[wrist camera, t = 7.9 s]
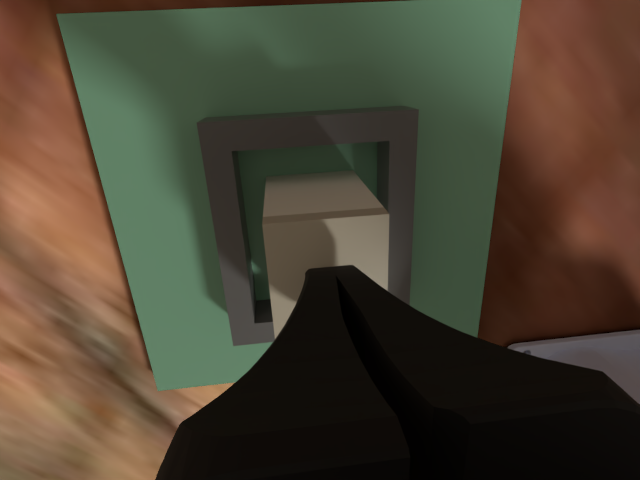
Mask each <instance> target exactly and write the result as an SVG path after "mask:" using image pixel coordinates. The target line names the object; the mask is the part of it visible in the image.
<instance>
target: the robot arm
mask: <svg viewBox="0 0 640 480" xmlns="http://www.w3.org/2000/svg"><path fill="white" fill-rule="evenodd" d="M524 351H525V352H524ZM523 352H524V353H523ZM155 480H640V330H631V331H622V332H613V333H604V334H595V335H586V336H577V337H568V338H559V339H550V340H541V341H533V342H524V343H515V344H511V345H510V346H508V347H507V348H505V347H502V346H499V345H496V344H493V343H490V342H487V341H485V340H482V339H479V338H477V337H474V336H472V335H469V334H466V333H464V332H461V331H459V330H457V329H454V328H452V327H450V326H448V325H446V324H443V323H441V322H439V321H437V320H435V319H433V318H431V317H429V316H427V315H425V314H424V313H422V312H420V311H418V310H416V309H415V308H413V307H411V306H410V305H408V304H407V303H405V302H403V301H402V300H400V299H399V298H397V297H396V296H394V295H393V294H391V293H390V292H388V291H387V290H385V289H384V288H383V287H381V286H380V285H379V284H377V283H376V282H375V281H373V280H372V279H371V278H369V277H368V276H367V275H366V274H364V273H363V272H362V271H360V270H359V269H358V268H357V267H355V266H354V265H343V266H333V267H322V268H311V269H308V270H307V271H306V272H305V281H304V284H303V288H302V291H301V293H300V296H299V298H298V300H297V303H296V305H295V307H294V309H293V311H292V313H291V314H290V316H289V318H288V320H287V322H286V324H285V325H284V327H283V328H282V330H281V331H280V333H279V334H278V336H277V337H276V339H275V340H274V341H273V343H272V344H271V345H270V347H269V348H268V349H267V350H266V351H265V353H264V354H263V355H262V356H261V357H260V359H259V360H258V361H257V362H256V363H255V364H254V365H253V366H252V367H251V368H250V369H249V370H248V372H246V373H245V374H244V375H243V376H242V377H241V378H240V379H239V380H238V381H237V382H236V383H234V384H233V385H232V386H231V387H230V388H229V389H227V390H226V391H225V392H224V393H222V394H221V395H220V396H219V397H217V398H216V399H214V400H213V401H212V402H210V403H209V404H207V405H206V406H205V407H203V408H202V409H200V410H199V411H198V412H196V413H195V414H193V415H192V416H191V417H189V418H187V419H186V420H184V421H183V422H182V423H181V424H180V425H179V427H178V429H177V431H176V433H175V435H174V437H173V440H172V442H171V444H170V446H169V448H168V450H167V453H166V455H165V458H164V460H163V462H162V464H161V466H160V469H159V471H158V474H157V477H156V479H155Z"/></svg>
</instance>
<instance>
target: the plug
mask: <svg viewBox="0 0 640 480" xmlns="http://www.w3.org/2000/svg"><path fill="white" fill-rule="evenodd" d="M262 227H263V236H264V245H265V254H266V263H267V272H268V281H269V290H270V299H271V308H272V317H273V326H274V335H275V339H276V337H277V336H278V334H279V333H280V331H281V330H282V328H283V327H284V325H285V324H286V322H287V320H288V318H289V316H290V314H291V313H292V311H293V309H294V307H295V305H296V303H297V300H298V298H299V296H300V293H301V291H302V288H303V284H304V281H305V272H306V271H307V270H308V269H311V268H322V267H333V266H343V265H354V266H355V267H357V268H358V269H359V270H360V271H362V272H363V273H364V274H366V275H367V276H368V277H369V278H371V279H372V280H373V281H375V282H376V283H377V284H379V285H380V286H381V287H383V288H384V289H385V290H387V291H388V253H389V213H388V212H387V210H386V209H385V208H384V207H383V206H382V204H381V203H380V202H379V201H378V200H377V198H376V197H375V196H374V195H373V194H372V192H371V191H370V190H369V189H368V188H367V186H366V185H365V184H364V183H363V182H362V180H361V179H360V178H359V177H358V176H357V174H356V173H355V172H354V171H353V170H350V171H336V172H322V173H308V174H293V175H279V176H266V185H265V197H264V209H263V221H262Z"/></svg>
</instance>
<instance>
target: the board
mask: <svg viewBox="0 0 640 480" xmlns="http://www.w3.org/2000/svg"><path fill="white" fill-rule="evenodd" d="M520 7H521V0H410V1H384V2H357V3H331V4H305V5H278V6H252V7H226V8H199V9H173V10H147V11H120V12H94V13H68V14H56V15H57V19H58V23H59V27H60V30H61V34H62V38H63V41H64V45H65V49H66V52H67V56H68V60H69V64H70V67H71V71H72V75H73V78H74V82H75V86H76V90H77V93H78V97H79V101H80V104H81V108H82V112H83V115H84V119H85V123H86V127H87V130H88V134H89V138H90V141H91V145H92V149H93V152H94V156H95V160H96V164H97V167H98V171H99V175H100V178H101V182H102V186H103V189H104V193H105V197H106V201H107V204H108V208H109V212H110V215H111V219H112V223H113V227H114V230H115V234H116V238H117V241H118V245H119V249H120V252H121V256H122V260H123V264H124V267H125V271H126V275H127V278H128V282H129V286H130V289H131V293H132V297H133V301H134V304H135V308H136V312H137V315H138V319H139V323H140V326H141V330H142V334H143V338H144V341H145V345H146V349H147V352H148V356H149V360H150V364H151V367H152V371H153V375H154V378H155V382H156V386H157V389H158V391H162V390H171V389H180V388H188V387H197V386H206V385H215V384H224V383H233V382H237V381H238V380H239V379H240V378H241V377H242V376H243V375H244V374H245V373H246V372H248V370H249V369H250V368H251V367H252V366H253V365H254V364H255V363H256V362H257V361H258V360H259V359H260V357H261V356H262V355H263V354H264V353H265V351H266V350H267V349H268V348H269V347H270V345H271V344H272V343H273V341H274V340H275V335H274V326H273V317H272V308H271V299H270V290H269V281H268V272H267V263H266V254H265V245H264V236H263V227H262V221H263V209H264V197H265V185H266V176H279V175H293V174H308V173H322V172H336V171H350V170H353V171H354V172H355V173H356V174H357V176H358V177H359V178H360V179H361V180H362V182H363V183H364V184H365V185H366V186H367V188H368V189H369V190H370V191H371V192H372V194H373V195H374V196H375V197H376V198H377V200H378V201H379V202H380V203H381V204H382V206H383V207H384V208H385V209H386V210H387V212H388V213H389V253H388V292H390V293H391V294H393V295H394V296H396V297H397V298H399V299H400V300H402V301H403V302H405V303H407V304H408V305H410V306H411V307H413V308H415V309H416V310H418V311H420V312H422V313H424V314H425V315H427V316H429V317H431V318H433V319H435V320H437V321H439V322H441V323H443V324H446V325H448V326H450V327H452V328H454V329H457V330H459V331H461V332H464V333H466V334H469V335H472V336H474V337H477V336H478V329H479V321H480V314H481V306H482V298H483V291H484V283H485V275H486V268H487V260H488V252H489V245H490V237H491V229H492V222H493V214H494V206H495V199H496V191H497V183H498V176H499V168H500V160H501V153H502V145H503V137H504V130H505V122H506V114H507V107H508V99H509V91H510V84H511V76H512V68H513V61H514V53H515V46H516V38H517V30H518V23H519V15H520Z"/></svg>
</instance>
